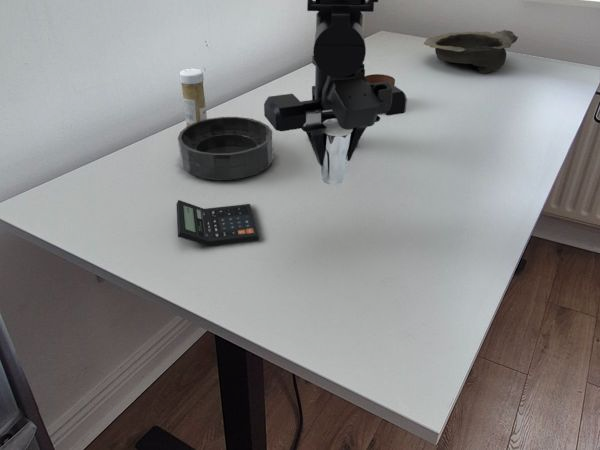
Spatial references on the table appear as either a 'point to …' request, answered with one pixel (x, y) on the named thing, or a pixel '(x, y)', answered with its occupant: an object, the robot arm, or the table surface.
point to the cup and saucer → (379, 78)
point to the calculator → (216, 224)
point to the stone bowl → (473, 48)
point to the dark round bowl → (226, 148)
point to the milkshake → (335, 152)
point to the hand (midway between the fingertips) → (333, 162)
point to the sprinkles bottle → (193, 95)
